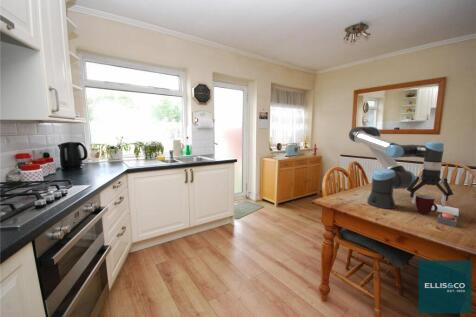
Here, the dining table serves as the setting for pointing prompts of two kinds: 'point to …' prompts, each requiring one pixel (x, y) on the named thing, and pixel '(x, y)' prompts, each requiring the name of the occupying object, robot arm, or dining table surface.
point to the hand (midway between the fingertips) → (427, 204)
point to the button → (447, 216)
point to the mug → (425, 204)
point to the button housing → (447, 221)
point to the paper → (446, 210)
